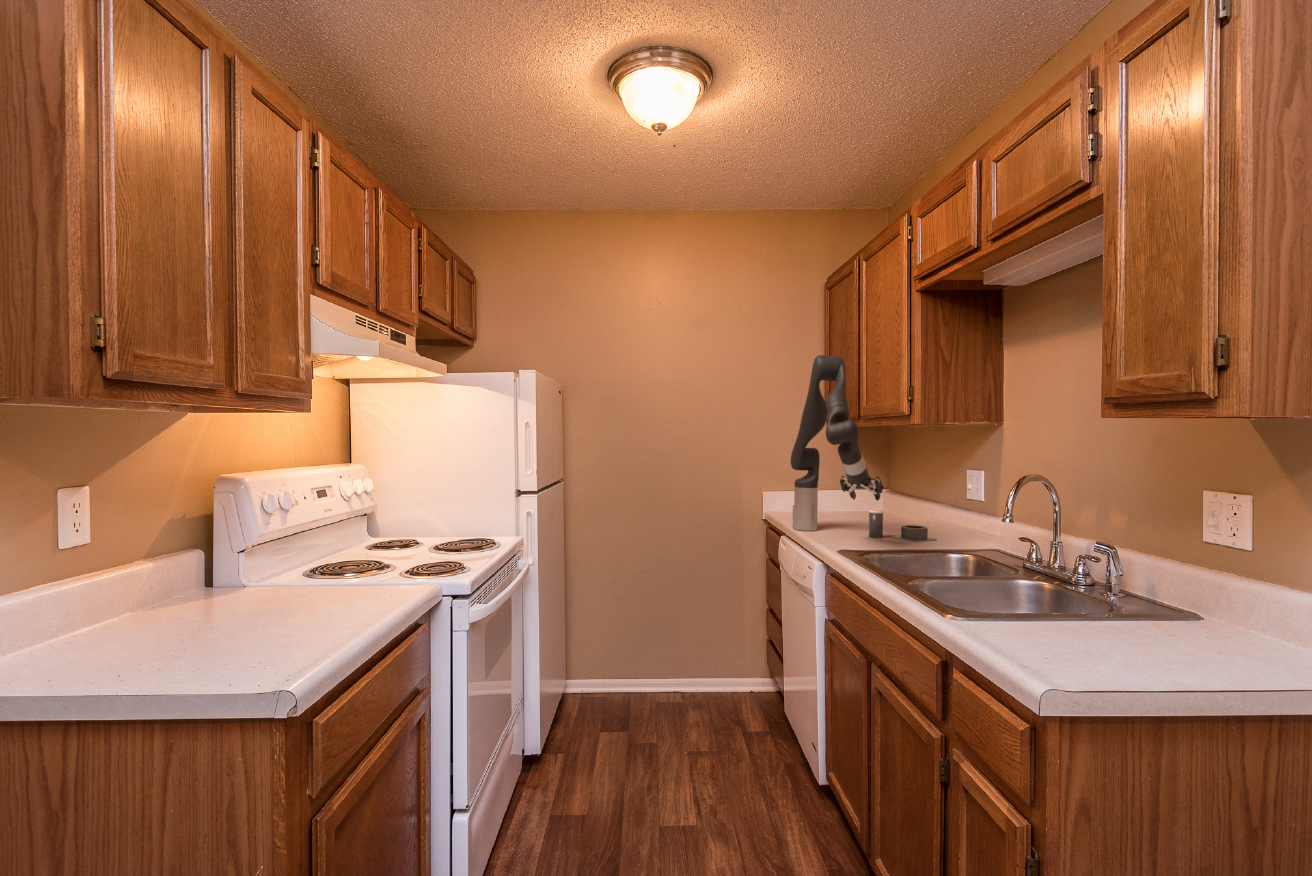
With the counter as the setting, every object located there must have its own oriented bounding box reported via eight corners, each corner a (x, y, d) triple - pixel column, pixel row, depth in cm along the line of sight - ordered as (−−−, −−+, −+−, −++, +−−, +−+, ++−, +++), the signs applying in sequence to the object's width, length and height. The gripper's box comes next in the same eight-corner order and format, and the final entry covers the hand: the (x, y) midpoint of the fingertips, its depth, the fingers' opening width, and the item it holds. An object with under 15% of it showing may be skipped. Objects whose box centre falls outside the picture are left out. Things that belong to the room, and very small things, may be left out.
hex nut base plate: (891, 537, 235) (891, 525, 235) (912, 535, 240) (912, 524, 240) (915, 542, 225) (915, 529, 225) (936, 540, 230) (936, 528, 230)
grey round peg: (865, 536, 238) (865, 510, 237) (875, 535, 240) (876, 509, 240) (875, 538, 233) (876, 511, 233) (886, 537, 235) (886, 511, 235)
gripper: (877, 459, 216) (888, 491, 225) (837, 459, 225) (849, 489, 233) (872, 475, 212) (883, 507, 220) (832, 474, 220) (844, 505, 229)
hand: (866, 498), depth 227 cm, fingers open, 8 cm apart
